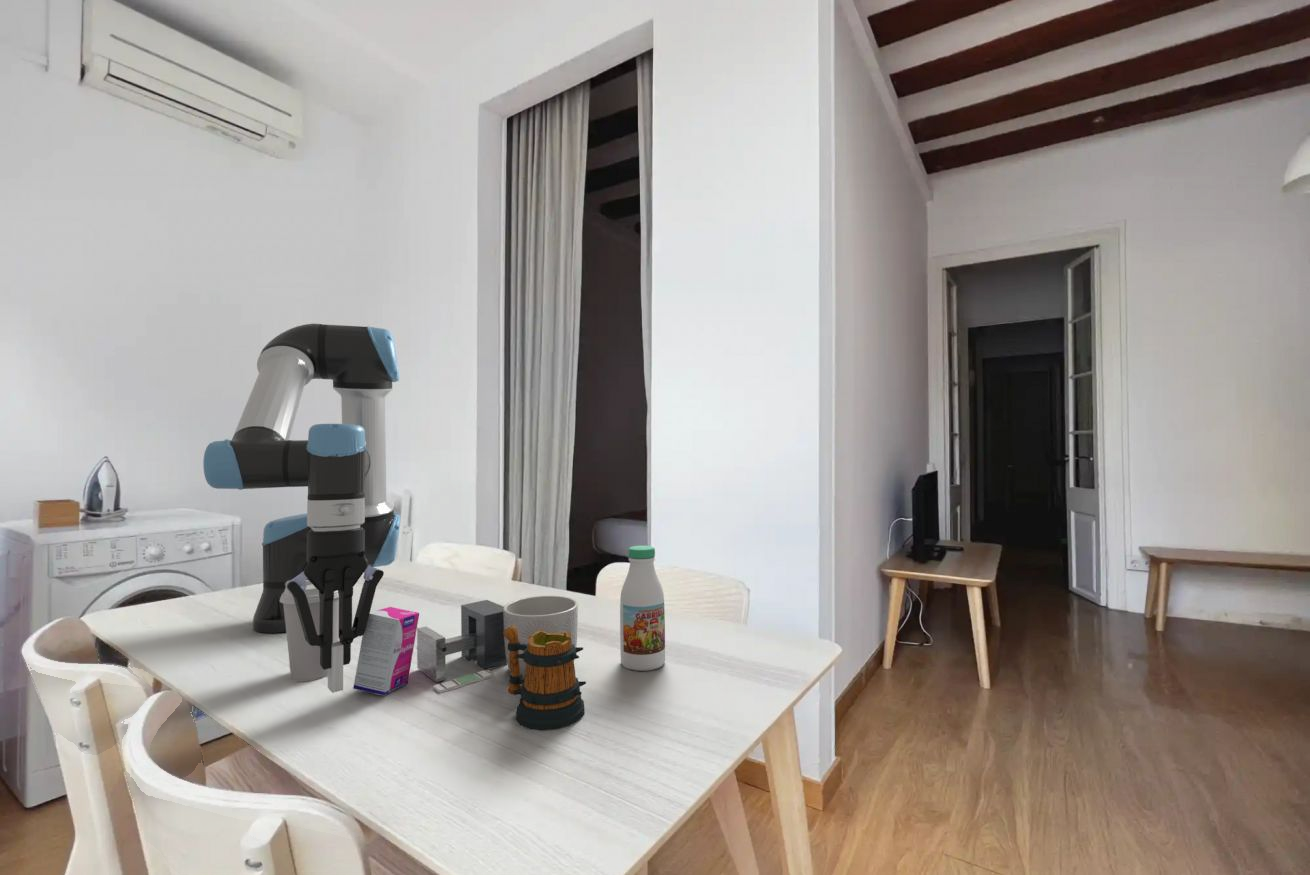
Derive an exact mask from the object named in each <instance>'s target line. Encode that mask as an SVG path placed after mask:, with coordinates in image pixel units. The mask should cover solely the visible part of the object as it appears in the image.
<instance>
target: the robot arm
mask: <svg viewBox="0 0 1310 875" xmlns="http://www.w3.org/2000/svg"><path fill="white" fill-rule="evenodd" d="M398 366H399V365H398V358H397V353H396V346H395V341H394V337H393V334H392V333H391V331H390V330H388V329H386V328H380V327H372V326H369V325H368V326H359V325H355V326H354V325H340V324H339V325H338V324H324V323H322V324H321V323H307V324H301V325H297V326H294V327H291V328H290V329H287V330H285V331H282V332H281V333H280V334H278V335H276V336H275V337H274V338H272V339H271V340H270V341H269V342H268V343H267V344H266V345H265V346H264V347H263V348H262V349H261V352H260V353H259V356H258V358H257V363H256V368H257V371H258V375H257V378H256V379H255V382H254V384H253V387H252V390H251V392H250V394H249V397H248V400H246V401H247V402H246V405H245V406H244V408H243V412H242V414H241V416H240V418H239V420H238V423H237V425H236V426H237V427H236V429H235V430H234V432H233V436H232V439H231V440H229V439H224V440H215V441H212V442H210V443H209V444H207V446H206V448H205V451H204V453H203V464H202V465H203V474H204V478H205V482H206V483H207V484H208V485H209V486H210V487H211V488H213V489H218V490H219V489H224V490H226V489H227V490H229V489H230V490H239V491H241V490H253V489H272V488H273V489H274V488H275V489H276V488H295V487H296V488H297V487H299V488H300V487H301V488H303V487H307V496H306V497H307V503H306V505H307V506H306V508H307V509H306V513H302V514H301V513H300V514H295V515H290V516H284V517H280V518H277V519H273V520H271V521H269V522H268V523H266V524H265V525H264V528H263V536H262V543H261V546H262V579H263V580H262V583H263V585H262V593H261V596H260V598H259V600H258V604H257V607H256V609H255V612H254V614H253V619H252V628H253V631H256V632H258V633H265V634H267V633H268V634H273V633H276V634H277V633H286V624H285V615H284V606H283V603H281V602H280V597H281V596H282V593H284V591H285V588H287V589H288V590H289V591H290V593H291V594H292V595H293V598H294V601H295V605H296V608H297V612H298V615H299V619H300V622H301V626H302V629H303V633H304V636H305V640H306V641H307V642H308V643H309V644H310V645H311V646H320V665H321V667H322V668H323V669H324V670H325V669H328V676H327V689H328V690H329V691H330V692H331V693H332V694H334V693H337V692H340V691H341V692H342V691H344V666H345V665H350V662H351V661H352V660H351V659H352V658H351V656H352V655H351V654H352V645H351V644H352V643H353V642H354V640H355V639H357V638H358V637H362V636H363V634H364V633H365V629H366V625H367V622H368V618H369V614H370V612H371V610H372V605H373V602H374V598H375V594H376V590H377V586H378V585H379V582H381V580H382V579H383V576H384V571H383V570H381V569H379V568H378V567H384V566H385V567H386V566H389V565H391V564H392V563H394V561H395V560H396V554H397V553H396V552H397V547H398V541H399V533H400V526H401V514H398V513H394V510H395V509H394V505H392V504H391V503H390V502H389V501H387V461H386V460H387V459H386V458H387V455H386V454H387V452H386V447H387V446H386V445H387V444H386V442H387V441H386V397H387V395H389V394H390V392H392V391H393V383H396V382H399V381H400V373H399V368H398ZM314 379H315V380H330V381H331V380H332V389H333V390H335V391H336V393H337V394H339V396H340V398H341V400H340V401H341V402H340V403H341V405H340V406H341V423H317V424H313V425H312V426H310V427H309V429H308V433H307V434H308V437H307V440H305V439H303V440H299V439H298V440H295V439H291V440H289V439H290V437H291V434H292V430H293V426H294V424H295V423H294V422H295V419H296V415H297V412H298V410H299V409H298V408H299V405H300V401H301V399H302V395H303V392H304V388H305V386H307V385H308V384H309V383H310V382H311V381H312V380H314ZM362 575H363V580H364V581H363V584H362V588H361V592H360V596H359V600H358V604H357V608H356V612H355V615H354V619H353V595H354V586H355V585H356V584H357V583H358V581H359V579H360V578H361V577H362ZM306 580H309V581H310V582H311V583H312V584H313V585H314V586H315V588H316V589H317V590H319V598H320V623H319V635H317V632H316V629H315V625H314V621H313V618H312V614H311V611H310V607H309V604H308V600H307V597H306V594H305V593H304V590H305V589H306V587H307V585H306ZM337 590H338V594H339V641H336V642H333V599H334V592H335V591H337Z"/></svg>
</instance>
